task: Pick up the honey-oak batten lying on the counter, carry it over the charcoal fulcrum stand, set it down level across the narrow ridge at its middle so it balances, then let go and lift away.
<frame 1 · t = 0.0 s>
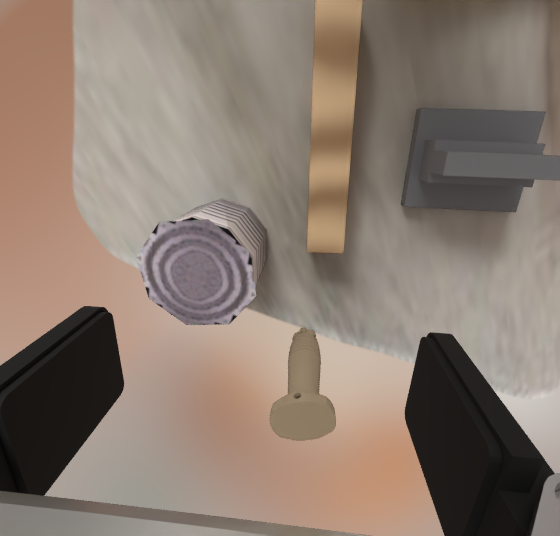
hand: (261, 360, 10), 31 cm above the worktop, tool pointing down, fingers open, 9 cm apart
oak batten: (328, 137, 36), on the worktop
can: (226, 242, 42), on the worktop
handle: (305, 335, 46), on the worktop
fulcrum stand: (464, 161, 36), on the worktop
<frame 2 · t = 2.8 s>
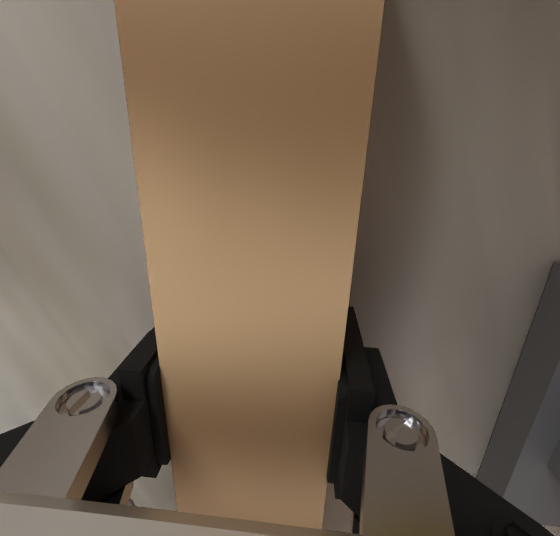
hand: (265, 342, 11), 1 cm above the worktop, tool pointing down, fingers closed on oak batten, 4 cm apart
oak batten: (271, 317, 12), on the worktop, touching gripper
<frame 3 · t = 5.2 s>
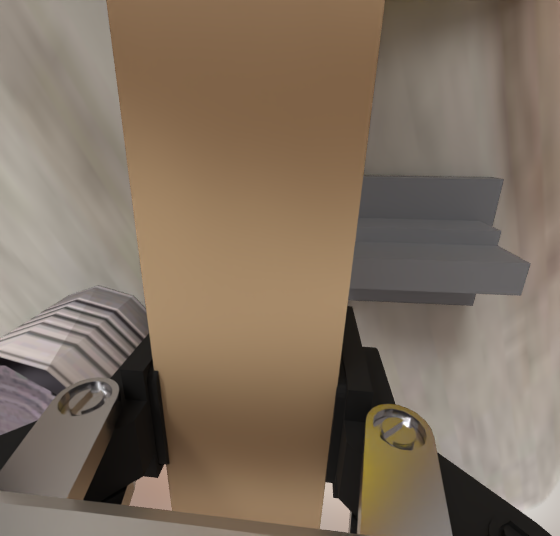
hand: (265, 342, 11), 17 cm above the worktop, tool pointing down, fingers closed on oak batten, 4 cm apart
oak batten: (269, 319, 12), point 16 cm above the worktop, touching gripper
can: (112, 335, 33), on the worktop
fulcrum stand: (401, 239, 27), on the worktop
when the fingers open (10 cm above the worktop, at t = 7.1 s): oak batten stays where it is, resting on fulcrum stand.
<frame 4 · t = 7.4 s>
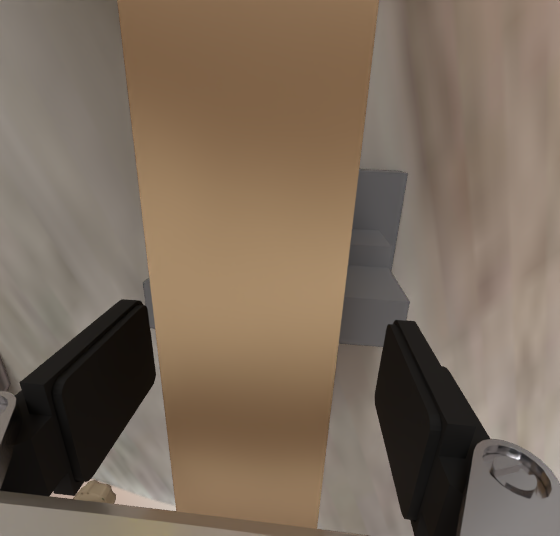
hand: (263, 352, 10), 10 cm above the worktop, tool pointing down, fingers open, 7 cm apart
oak batten: (269, 313, 12), point 8 cm above the worktop, touching fulcrum stand
handle: (101, 488, 30), on the worktop
fulcrum stand: (286, 251, 20), on the worktop
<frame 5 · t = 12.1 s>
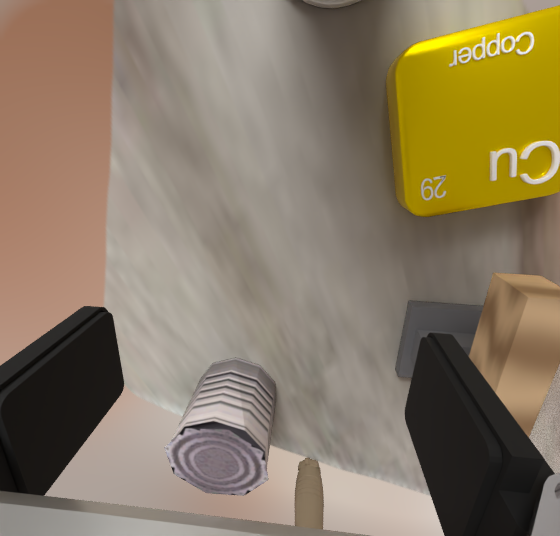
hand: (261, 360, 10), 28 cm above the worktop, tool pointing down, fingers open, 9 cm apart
oak batten: (481, 383, 33), point 8 cm above the worktop, touching fulcrum stand
can: (238, 389, 47), on the worktop
handle: (309, 462, 50), on the worktop
fulcrum stand: (450, 340, 41), on the worktop
element tile: (466, 125, 33), on the worktop
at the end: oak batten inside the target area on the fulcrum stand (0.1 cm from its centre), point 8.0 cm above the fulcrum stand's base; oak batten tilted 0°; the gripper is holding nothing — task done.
